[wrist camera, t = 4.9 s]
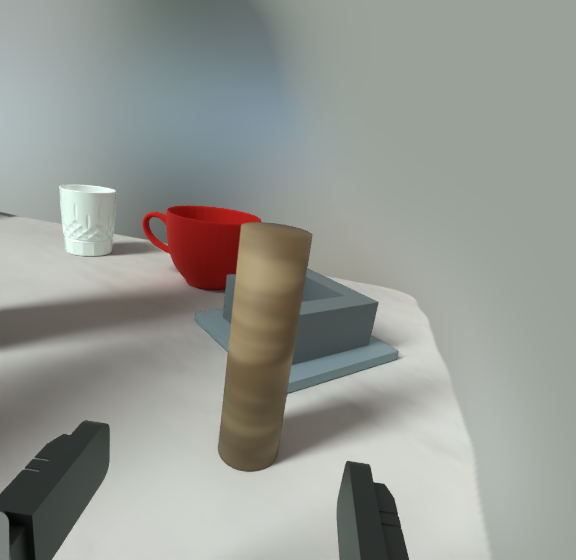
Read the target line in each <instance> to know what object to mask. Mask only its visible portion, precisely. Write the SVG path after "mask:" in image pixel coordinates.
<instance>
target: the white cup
mask: <svg viewBox="0 0 576 560" xmlns="http://www.w3.org/2000/svg"><path fill="white" fill-rule="evenodd" d="M59 193H60V205H61V216H62V225H63V234H64V235H65V236H64V239H65V250H66V251H67V252H68V253H70V254H73V255H78V256H102V255H107V254H110V253H111V252H112V246H113V238H112V237H113V234H114V223H115V207H116V191H115V190H113V189H110V188H105V187H98V186H89V185H61V186H59Z"/></svg>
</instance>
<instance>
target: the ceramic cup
mask: <svg viewBox="0 0 576 560" xmlns="http://www.w3.org/2000/svg"><path fill="white" fill-rule="evenodd" d="M152 217H157V218H160V219H161V220H163V222H164V223H165V224H166V228H167V240H168V246H167V245H165V244H163V243H162V242H160V241H159V240H158V239H157V238H156V237H155V236H154V235H153V234H152V232H151V230H150V227H149V220H150V218H152ZM251 222H261V219H260V218H258V217H256V216H254V215H251V214H248V213H244V212H240V211H236V210H230V209H224V208H216V207H206V206H174V207H170V208H168V209H167V211H166V215H164V214H162V213H159V212H151V213H148V214H147V215H146V216H145V217H144V219H143V229H144V232H145V234H146V236H147V238H148V239H149V240H150V241H151V242H152V243H153V244H154V245H155V246H157V247H158V248H160V249H162V250H164V251H165V252H167V253H169V254H170V255H171V258H172V260H173V263H174V265H175V266H176V268H177V270H178V271H179V272H180V274H181V275H182V276H183V277H184V278H185V279H186V281H187V283H188V284H190V285H192V286H194V287H197V288H202V289H210V290H218V289H225V288H226V280H227V275H231V274H236V270H237V261H238V251H239V241H240V232H241V225H242V224H244V223H251Z"/></svg>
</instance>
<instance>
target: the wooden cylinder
mask: <svg viewBox="0 0 576 560" xmlns="http://www.w3.org/2000/svg"><path fill="white" fill-rule="evenodd" d="M311 241H312V234H311V233H309V232H308V231H306V230H303V229H300V228H296V227H292V226H287V225H281V224H274V223H262V222H251V223H244V224H242V225H241V232H240V241H239V251H238V261H237V270H236V280H235V290H234V299H233V309H232V319H231V328H230V338H229V348H228V357H227V367H226V377H225V386H224V396H223V406H222V415H221V425H220V435H219V444H218V452H219V455H220V457H221V459H222V460H223V461H224V462H225V463H226V464H227V465H229V466H230V467H232V468H234V469H237V470H241V471H258V470H262V469H264V468H266V467H268V466H270V465H271V464H272V463H273V462H274V461H275V459H276V457H277V453H278V446H279V440H280V434H281V428H282V421H283V415H284V409H285V403H286V397H287V390H288V384H289V378H290V372H291V366H292V359H293V353H294V347H295V341H296V335H297V328H298V322H299V316H300V310H301V304H302V297H303V291H304V285H305V279H306V273H307V266H308V260H309V254H310V248H311Z"/></svg>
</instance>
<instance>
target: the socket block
mask: <svg viewBox="0 0 576 560" xmlns="http://www.w3.org/2000/svg"><path fill="white" fill-rule="evenodd" d="M235 280H236V274H231V275H227V280H226V290H225V300H224V308H223V309H216V310H208V311H200V312H195V321H196V322H197V323H198V324H199V325H200V326H201V327H202V328H203V329H205V330H206V331H207V332H208V333H209V334H210V335H211V336H212V337H213V338H214V339H215V340H216V341H217V342H218V343H219V344H220V345H221V346H222V347H223V348H224V349H225V350H226V351H227V352H228V348H229V338H230V328H231V319H232V309H233V299H234V290H235ZM377 307H378V302H377V301H375V300H373V299H371V298H369V297H367V296H365V295H363V294H360V293H358V292H356V291H354V290H352V289H350V288H348V287H346V286H344V285H342V284H339V283H337V282H335V281H333V280H331V279H329V278H327V277H325V276H323V275H321V274H319V273H316V272H314V271H312V270H310V269H307V273H306V279H305V285H304V291H303V297H302V304H301V310H300V316H299V322H298V328H297V335H296V341H295V347H294V353H293V359H292V366H291V372H290V378H289V384H288V390H287V393H290V392H293V391H297V390H300V389H303V388H306V387H309V386H313V385H316V384H319V383H322V382H325V381H329V380H332V379H335V378H338V377H341V376H345V375H348V374H351V373H354V372H357V371H361V370H364V369H367V368H370V367H374V366H377V365H380V364H383V363H386V362H390V361H393V360H396V359H397V356H398V352H399V351H398V350H396V349H394V348H392V347H391V346H389V345H387V344H385V343H384V342H382V341H380V340H378V339H377V338H375V337H373V336H371V333H372V329H373V324H374V320H375V315H376V311H377Z"/></svg>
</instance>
